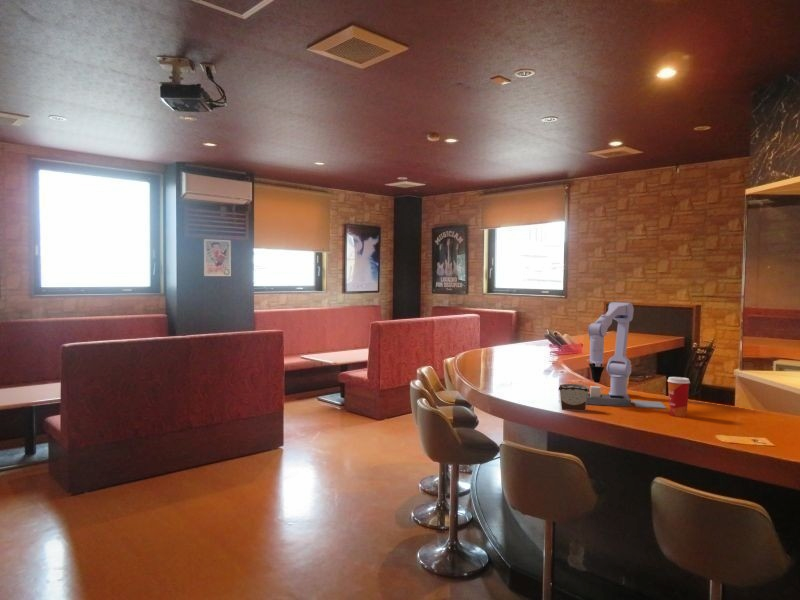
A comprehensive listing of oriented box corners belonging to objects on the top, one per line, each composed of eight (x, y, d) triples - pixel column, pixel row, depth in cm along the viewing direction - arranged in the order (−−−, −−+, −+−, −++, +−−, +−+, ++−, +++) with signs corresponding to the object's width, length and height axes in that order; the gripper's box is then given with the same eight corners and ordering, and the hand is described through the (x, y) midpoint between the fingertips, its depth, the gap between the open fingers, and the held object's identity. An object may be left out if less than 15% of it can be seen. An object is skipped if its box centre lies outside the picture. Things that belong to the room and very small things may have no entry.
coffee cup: (667, 412, 222) (668, 375, 222) (690, 414, 218) (690, 377, 218) (665, 416, 215) (666, 378, 215) (689, 419, 211) (689, 380, 211)
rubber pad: (631, 401, 242) (631, 400, 242) (660, 403, 239) (660, 401, 239) (635, 407, 231) (635, 405, 231) (666, 409, 228) (666, 407, 228)
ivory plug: (590, 401, 242) (590, 385, 242) (599, 401, 241) (599, 386, 241) (590, 403, 239) (591, 387, 238) (600, 403, 238) (600, 387, 237)
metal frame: (580, 399, 246) (580, 392, 246) (627, 402, 241) (627, 395, 241) (581, 403, 237) (581, 397, 237) (630, 406, 231) (631, 399, 231)
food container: (588, 408, 228) (588, 384, 228) (589, 411, 223) (589, 387, 222) (557, 406, 232) (558, 383, 232) (558, 409, 226) (558, 385, 226)
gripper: (585, 348, 247) (585, 378, 248) (588, 351, 233) (587, 382, 234) (602, 349, 246) (601, 378, 246) (606, 352, 232) (605, 383, 232)
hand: (595, 380), depth 240 cm, fingers open, 7 cm apart
